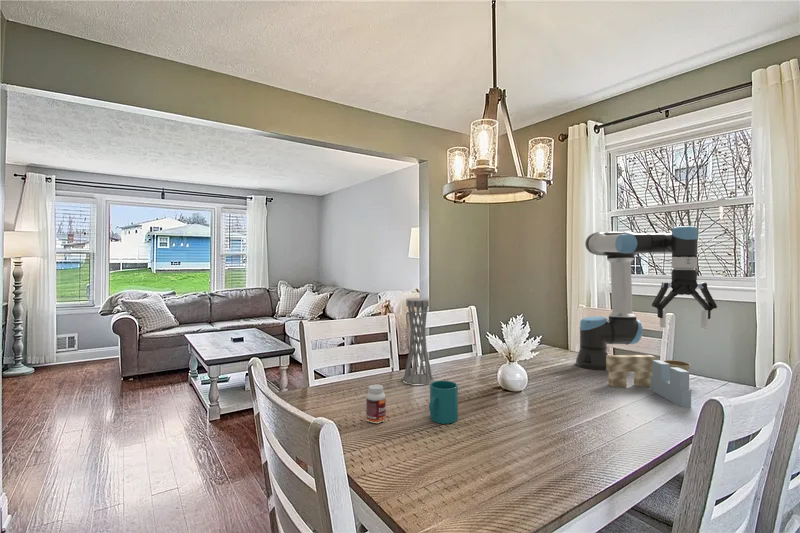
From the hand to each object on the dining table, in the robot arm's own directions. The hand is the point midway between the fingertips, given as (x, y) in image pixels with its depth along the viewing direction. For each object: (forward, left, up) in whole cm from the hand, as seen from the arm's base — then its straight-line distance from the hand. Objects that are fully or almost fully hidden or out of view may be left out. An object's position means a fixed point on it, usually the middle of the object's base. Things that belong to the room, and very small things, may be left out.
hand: (683, 327), depth 146 cm
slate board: (-1, -4, -26) cm, 27 cm away
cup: (+19, -90, -27) cm, 96 cm away
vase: (-23, -96, -27) cm, 102 cm away
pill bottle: (+19, -111, -27) cm, 116 cm away
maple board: (-16, -10, -26) cm, 33 cm away
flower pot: (-18, +10, -27) cm, 34 cm away
